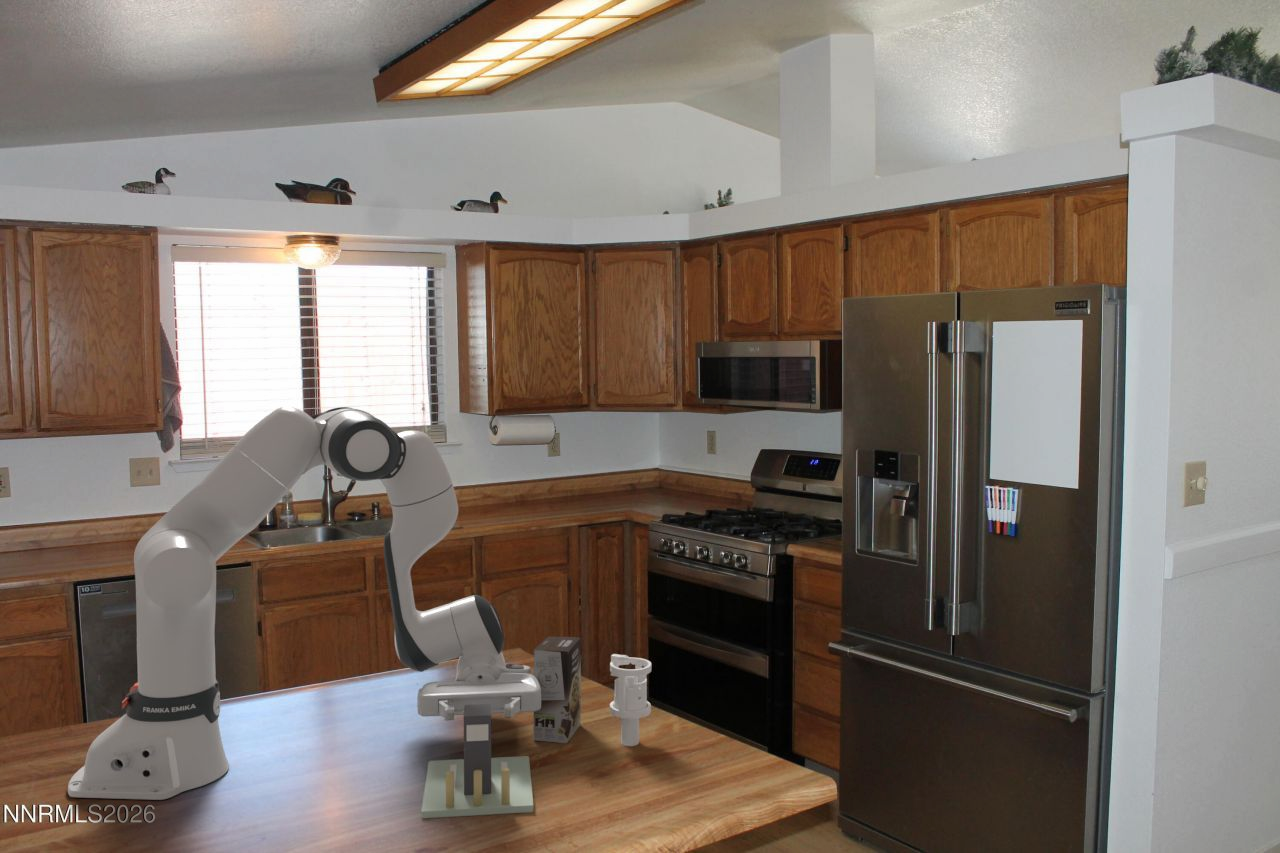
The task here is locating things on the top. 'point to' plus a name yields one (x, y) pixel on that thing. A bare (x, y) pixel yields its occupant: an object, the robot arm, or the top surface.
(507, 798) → the pinboard
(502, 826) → the top surface
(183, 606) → the robot arm
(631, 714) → the white plastic cylinder
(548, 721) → the coffee box
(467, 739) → the block
